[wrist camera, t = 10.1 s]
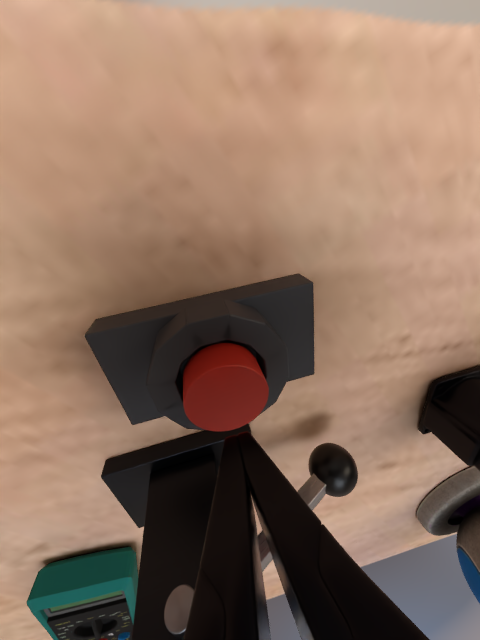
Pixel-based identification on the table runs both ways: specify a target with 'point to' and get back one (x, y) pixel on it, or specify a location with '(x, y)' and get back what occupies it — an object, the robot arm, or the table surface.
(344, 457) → the lever handle
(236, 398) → the red push button
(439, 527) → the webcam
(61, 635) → the digital multimeter
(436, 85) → the table surface
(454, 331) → the table surface
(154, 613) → the lever bracket
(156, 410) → the button block
